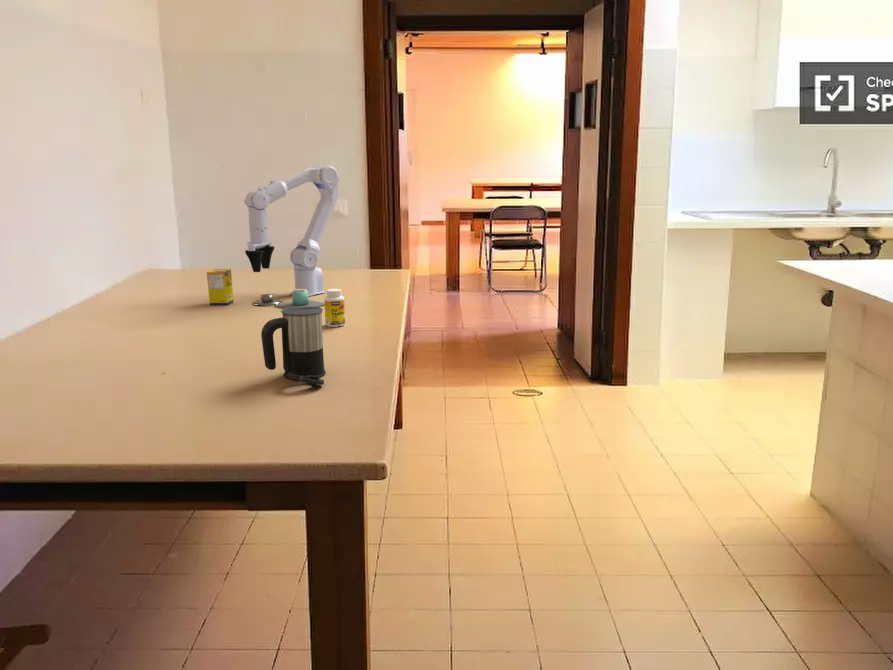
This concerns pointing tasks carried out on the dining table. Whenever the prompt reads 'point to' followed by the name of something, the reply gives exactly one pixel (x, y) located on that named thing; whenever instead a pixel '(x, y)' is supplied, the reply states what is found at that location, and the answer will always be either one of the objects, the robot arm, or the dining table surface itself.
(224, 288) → the supplement box
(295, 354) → the milk frother
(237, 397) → the dining table surface
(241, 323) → the dining table surface
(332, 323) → the supplement bottle
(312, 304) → the mat
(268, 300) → the metal flanged disc
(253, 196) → the robot arm
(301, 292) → the cap
